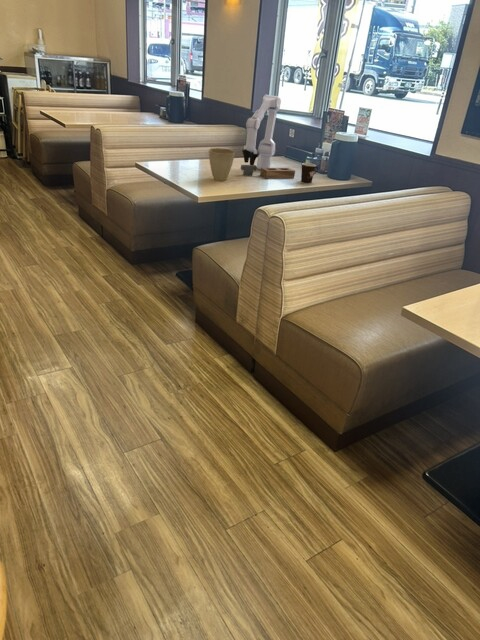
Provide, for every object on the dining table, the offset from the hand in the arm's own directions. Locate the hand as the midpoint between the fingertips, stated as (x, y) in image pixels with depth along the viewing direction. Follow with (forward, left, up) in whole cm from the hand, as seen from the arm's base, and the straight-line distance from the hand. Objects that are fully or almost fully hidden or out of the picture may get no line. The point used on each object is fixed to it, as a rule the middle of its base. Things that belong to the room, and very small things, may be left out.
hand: (248, 163), depth 286 cm
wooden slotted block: (+5, +18, -7) cm, 20 cm away
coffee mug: (+18, +33, -7) cm, 38 cm away
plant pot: (+10, -23, -7) cm, 26 cm away
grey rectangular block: (0, 0, -7) cm, 7 cm away
